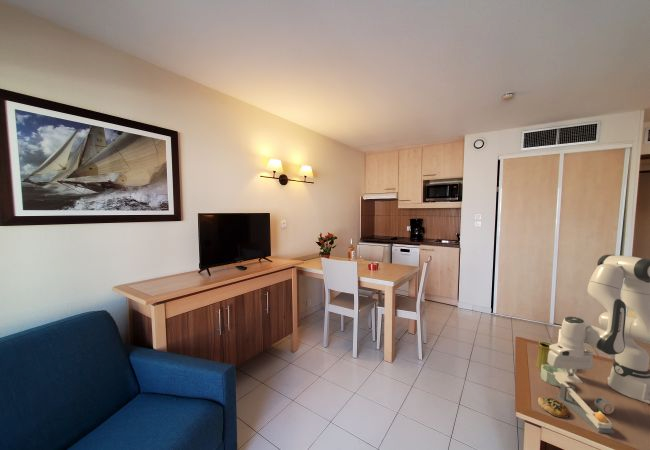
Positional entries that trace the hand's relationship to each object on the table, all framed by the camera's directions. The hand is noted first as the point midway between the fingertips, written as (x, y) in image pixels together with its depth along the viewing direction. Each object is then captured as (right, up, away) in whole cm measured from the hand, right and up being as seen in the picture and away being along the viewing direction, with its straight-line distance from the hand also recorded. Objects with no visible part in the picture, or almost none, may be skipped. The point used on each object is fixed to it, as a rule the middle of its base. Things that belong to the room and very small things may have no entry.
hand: (569, 375), depth 128 cm
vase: (+5, -8, +21) cm, 23 cm away
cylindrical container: (+12, -9, +16) cm, 22 cm away
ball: (-6, -6, -20) cm, 22 cm away
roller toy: (+5, -10, -11) cm, 16 cm away
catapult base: (-6, -10, -13) cm, 17 cm away
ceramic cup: (+16, -8, +28) cm, 34 cm away
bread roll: (-18, -10, -10) cm, 23 cm away
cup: (0, -9, +10) cm, 13 cm away
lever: (-2, -5, -9) cm, 11 cm away
